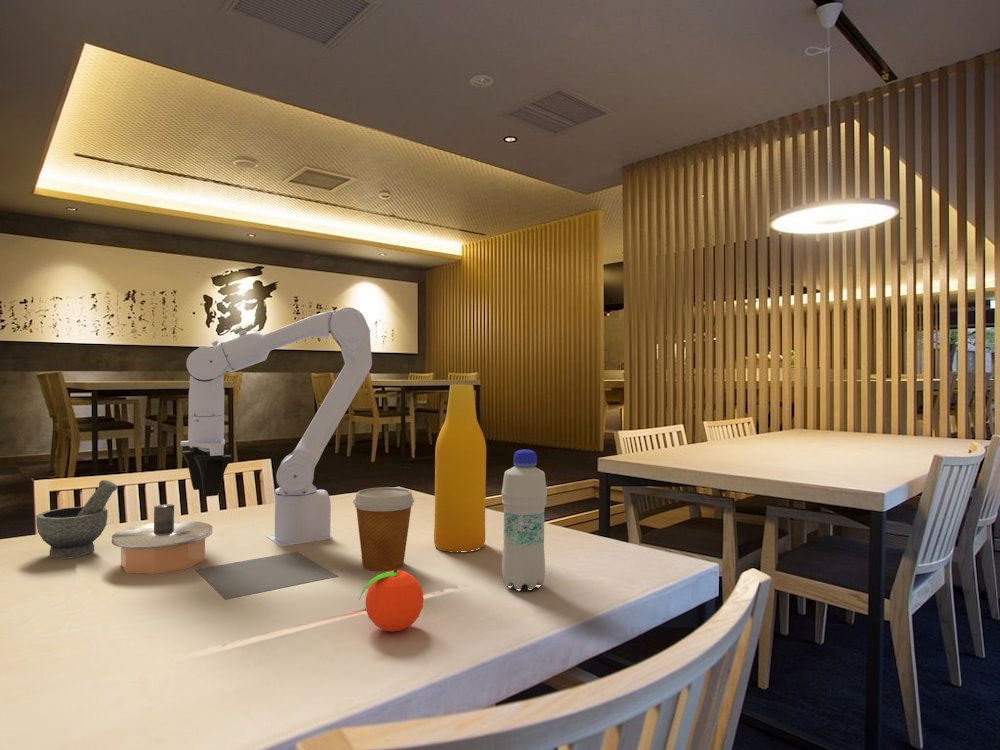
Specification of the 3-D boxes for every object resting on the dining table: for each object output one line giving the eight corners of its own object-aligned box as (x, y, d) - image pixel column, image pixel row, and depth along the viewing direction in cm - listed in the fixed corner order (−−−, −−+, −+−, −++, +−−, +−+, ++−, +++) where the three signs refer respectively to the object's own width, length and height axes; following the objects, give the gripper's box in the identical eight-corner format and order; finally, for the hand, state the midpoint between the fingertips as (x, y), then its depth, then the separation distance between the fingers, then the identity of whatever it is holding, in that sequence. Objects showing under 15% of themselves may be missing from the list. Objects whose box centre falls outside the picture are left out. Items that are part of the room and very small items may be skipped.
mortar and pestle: (30, 564, 97) (31, 488, 97) (40, 549, 105) (41, 479, 106) (114, 555, 103) (115, 483, 103) (117, 542, 111) (118, 475, 111)
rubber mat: (297, 554, 105) (297, 551, 105) (338, 579, 92) (338, 575, 92) (195, 572, 95) (195, 569, 95) (225, 602, 82) (225, 599, 82)
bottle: (551, 582, 92) (552, 448, 92) (539, 597, 86) (540, 453, 86) (508, 576, 94) (510, 445, 94) (493, 591, 88) (495, 450, 88)
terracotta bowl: (192, 551, 106) (193, 524, 106) (210, 567, 97) (210, 538, 97) (117, 562, 99) (118, 534, 99) (129, 580, 90) (129, 550, 90)
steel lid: (203, 522, 108) (203, 494, 108) (221, 539, 97) (221, 509, 97) (108, 533, 100) (108, 503, 100) (115, 553, 88) (116, 520, 88)
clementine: (371, 649, 69) (372, 585, 69) (347, 628, 75) (348, 569, 75) (433, 632, 74) (434, 572, 74) (406, 614, 79) (407, 558, 79)
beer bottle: (472, 556, 105) (474, 385, 105) (424, 549, 109) (426, 384, 109) (493, 542, 114) (495, 385, 114) (448, 537, 117) (450, 384, 117)
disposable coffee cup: (424, 563, 100) (425, 490, 100) (390, 581, 92) (391, 500, 92) (376, 556, 104) (377, 485, 104) (339, 571, 96) (340, 494, 96)
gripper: (172, 413, 112) (171, 488, 112) (191, 418, 101) (190, 501, 101) (213, 412, 117) (212, 484, 117) (236, 417, 106) (235, 496, 106)
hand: (205, 492), depth 109 cm, fingers open, 7 cm apart
